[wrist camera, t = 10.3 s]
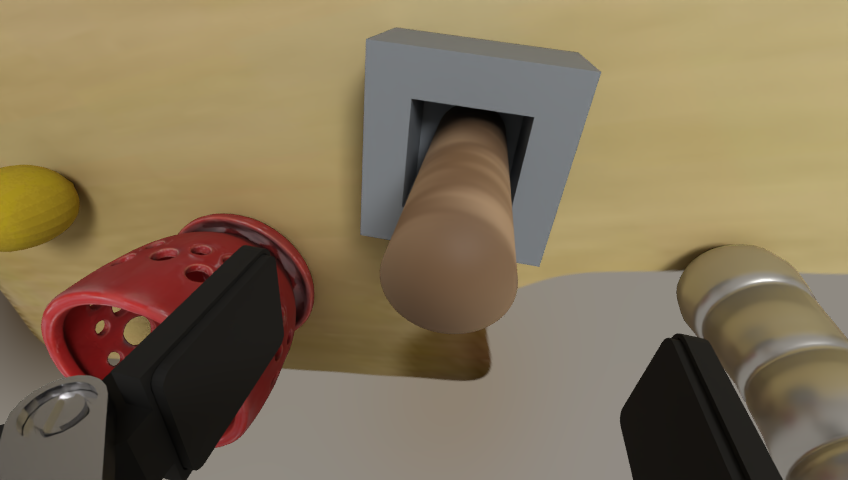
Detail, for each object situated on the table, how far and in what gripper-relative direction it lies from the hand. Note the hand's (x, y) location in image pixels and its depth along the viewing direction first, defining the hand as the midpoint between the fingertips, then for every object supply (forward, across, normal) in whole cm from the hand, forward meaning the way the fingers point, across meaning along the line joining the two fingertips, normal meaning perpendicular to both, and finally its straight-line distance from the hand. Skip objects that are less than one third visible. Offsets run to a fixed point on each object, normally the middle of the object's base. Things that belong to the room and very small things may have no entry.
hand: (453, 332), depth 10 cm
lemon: (+17, +31, +10) cm, 37 cm away
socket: (+18, +1, 0) cm, 18 cm away
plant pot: (+17, +17, +14) cm, 28 cm away
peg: (+16, +1, 0) cm, 16 cm away
